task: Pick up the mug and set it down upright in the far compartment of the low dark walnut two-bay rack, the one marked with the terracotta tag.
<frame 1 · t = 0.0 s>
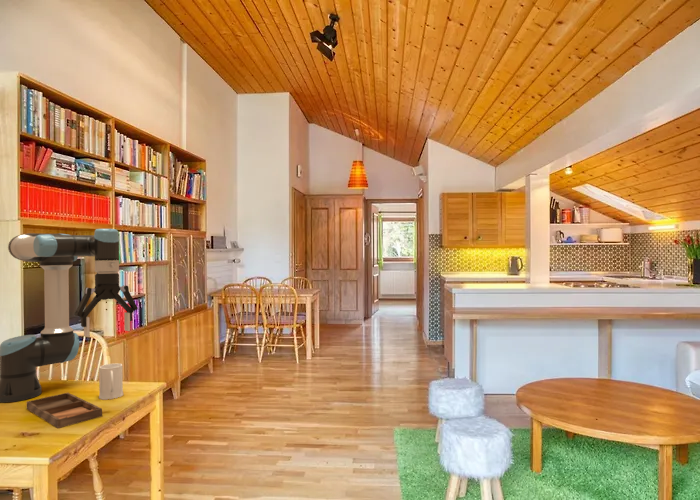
hand: (107, 333, 160), 28 cm above the table, tool pointing down, fingers open, 13 cm apart
rack: (63, 412, 162), on the table
mug: (111, 398, 179), on the table
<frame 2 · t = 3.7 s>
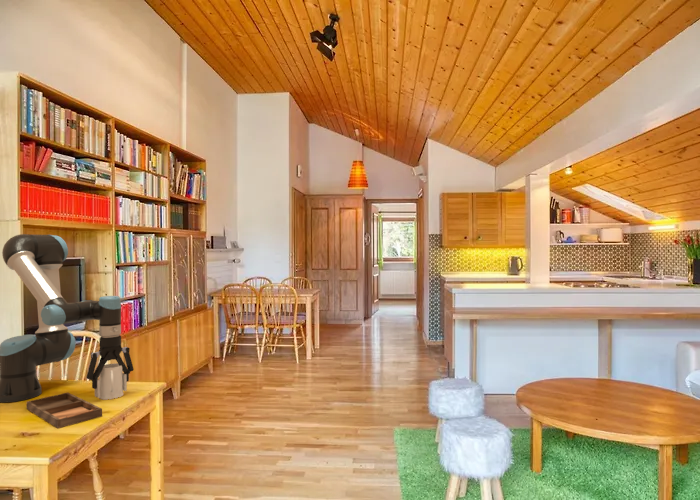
hand: (111, 393, 179), 2 cm above the table, tool pointing down, fingers open, 9 cm apart
mug: (111, 398, 179), on the table, touching gripper
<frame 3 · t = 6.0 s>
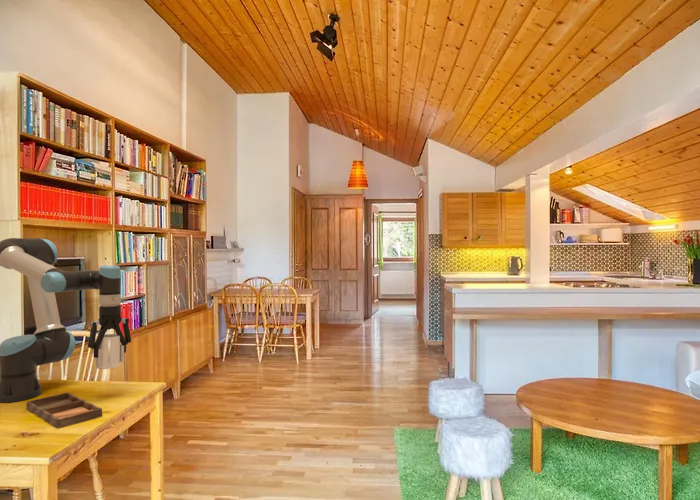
hand: (110, 363, 179), 13 cm above the table, tool pointing down, fingers closed on mug, 8 cm apart
mug: (108, 367, 178), point 12 cm above the table, touching gripper
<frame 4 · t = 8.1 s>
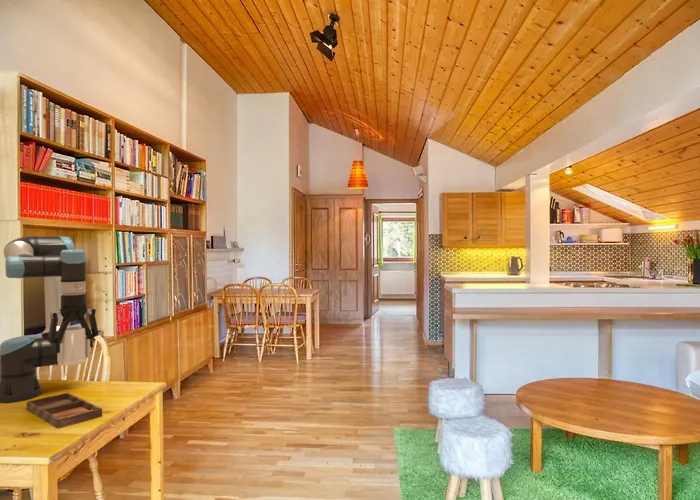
hand: (74, 359, 159), 19 cm above the table, tool pointing down, fingers closed on mug, 8 cm apart
mug: (71, 364, 158), point 18 cm above the table, touching gripper
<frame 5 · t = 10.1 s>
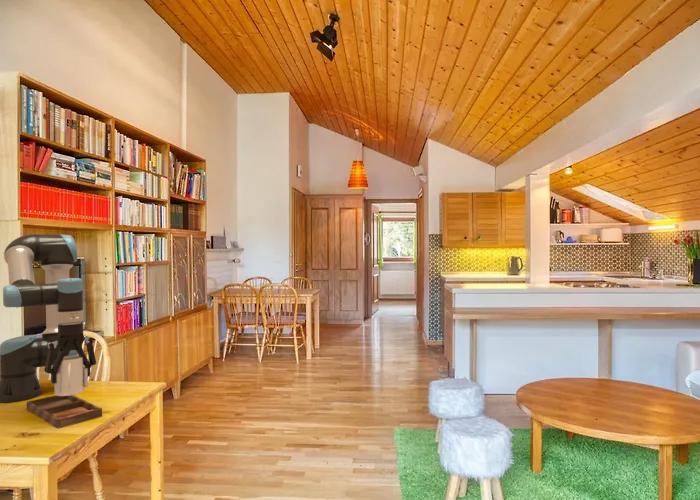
hand: (71, 389, 157), 9 cm above the table, tool pointing down, fingers closed on mug, 8 cm apart
mug: (69, 394, 157), point 8 cm above the table, touching gripper
when the fingers open (4 cm above the table, at t = 12.1 s): mug drops 1 cm, resting on rack.
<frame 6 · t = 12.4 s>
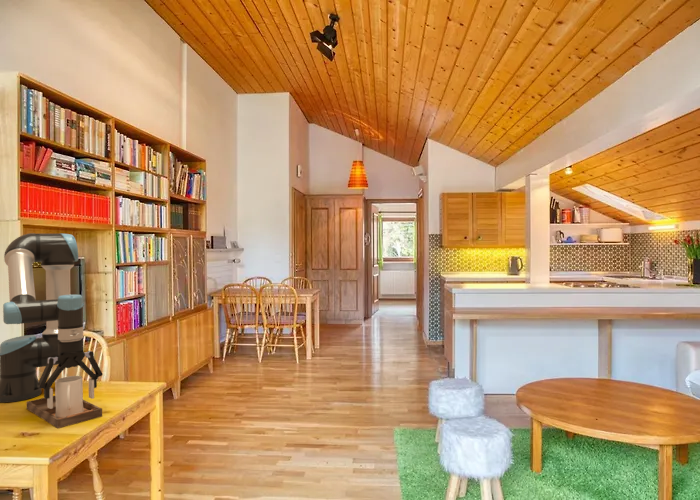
hand: (71, 402, 157), 5 cm above the table, tool pointing down, fingers open, 12 cm apart
mug: (69, 415, 157), point 1 cm above the table, touching rack
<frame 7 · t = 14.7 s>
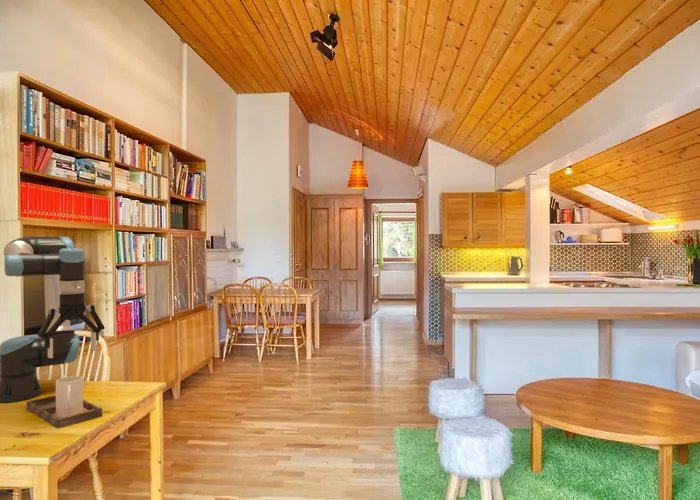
hand: (72, 354, 159), 21 cm above the table, tool pointing down, fingers open, 13 cm apart
nothing on the table moved.
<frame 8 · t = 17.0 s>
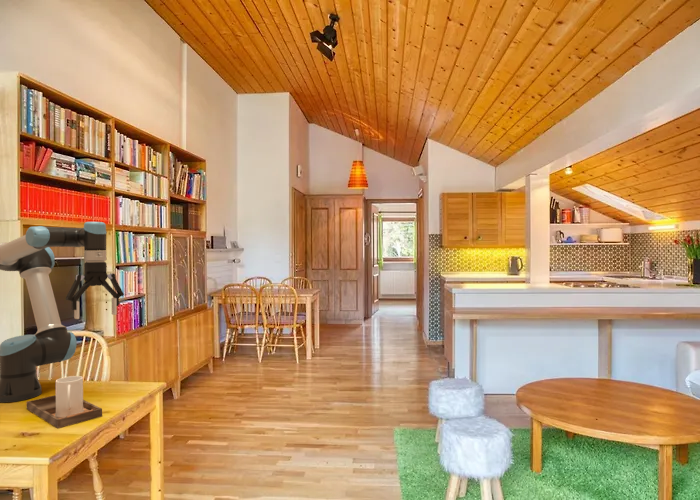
hand: (96, 316, 177), 32 cm above the table, tool pointing down, fingers open, 13 cm apart
nothing on the table moved.
at the end: mug inside the target area on the rack (0.7 cm from its centre), point 0.6 cm above the rack's base; mug tilted 0°; the gripper is holding nothing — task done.
